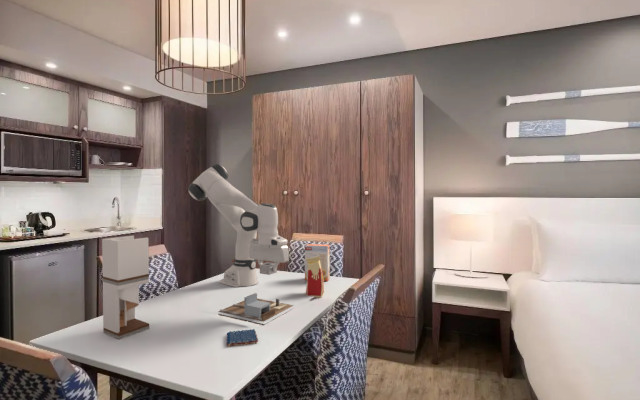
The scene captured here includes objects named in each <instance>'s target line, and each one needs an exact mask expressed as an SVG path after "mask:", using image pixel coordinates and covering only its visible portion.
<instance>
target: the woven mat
mask: <svg viewBox="0 0 640 400" xmlns="http://www.w3.org/2000/svg"><path fill="white" fill-rule="evenodd" d="M258 341H259V340H258V337H257V332H256V330H255V328H253V329H241V330H236V331H235V330H233V331H232V330H231V331H228V332H226V347H231V346H232V347H235V346H236V347H237V346H241V345H242V346H244V345H251V344H252V345H254V344H256V345H257V343H258Z"/></svg>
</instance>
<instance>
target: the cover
mask: <svg viewBox="0 0 640 400" xmlns="http://www.w3.org/2000/svg"><path fill="white" fill-rule="evenodd" d="M243 298H244V300H243V301H244V314H245V315H250V316H254V317H259V318H261V312H265V313H266V312H268V311H270V303H268V302H263V301H258V300H257V299H258V293H256V292H254V293H252V294H249V295H247V296H244V297H243Z"/></svg>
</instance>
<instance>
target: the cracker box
mask: <svg viewBox="0 0 640 400" xmlns="http://www.w3.org/2000/svg"><path fill="white" fill-rule="evenodd" d="M317 256H320V258H319V259H320V264H321V268H322V273H323V280H324V282H328V281H330V278H331V277H330V268H331V267H330V244H319V243H314V244H313V243H307V244H305V245H304V281H307V278H308V263H307V260H306V259H308V258H314V257H317Z"/></svg>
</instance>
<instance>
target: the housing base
mask: <svg viewBox="0 0 640 400" xmlns="http://www.w3.org/2000/svg"><path fill="white" fill-rule="evenodd" d="M257 300H258V301H263V302H268V303H270V311H268V312H266V313H265V312H261V318H259V317H254V316H250V315H245V314H244V300H242V301H240V302H237V303H233V304H232V305H230V306H227V307H225V308H223V309H222V308H221V309H219V310H218V311H217V312H219V313H218V314H217V315H218V316H221V317H226V318H231V319H235V320H239V321H243V322H247V321H248V322H249V323H252V324H256V325H262V326H265V325H268V323H270V321H268V322H267V323H261V322H265V321H267V320H269V319H271V318H273V317H274V316H277V315H278V314H280V313H282V312H284V311H286V310H288V309H289V308H292V307H293V306H294V304H287V303H284V302H283V303H282V302H280V298H275V301H272V300H268V299H263V298H262V299H261V298H257ZM293 309H294V308H292V309H290V311H291V310H293ZM221 313H223V314H221ZM226 314H228V315H226ZM285 314H288V311H286V312H284V313H283V314H281V316H283V315H285ZM230 315H232V316H230ZM234 316H237V317H234ZM239 317H241V318H239ZM243 318H246V319H243ZM278 318H279V316H277V317H275V318H274V319H272V321H274V320H276V319H278ZM248 319H251V320H248ZM253 320H255V321H256V322H255V321H253ZM257 321H260V322H257Z"/></svg>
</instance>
